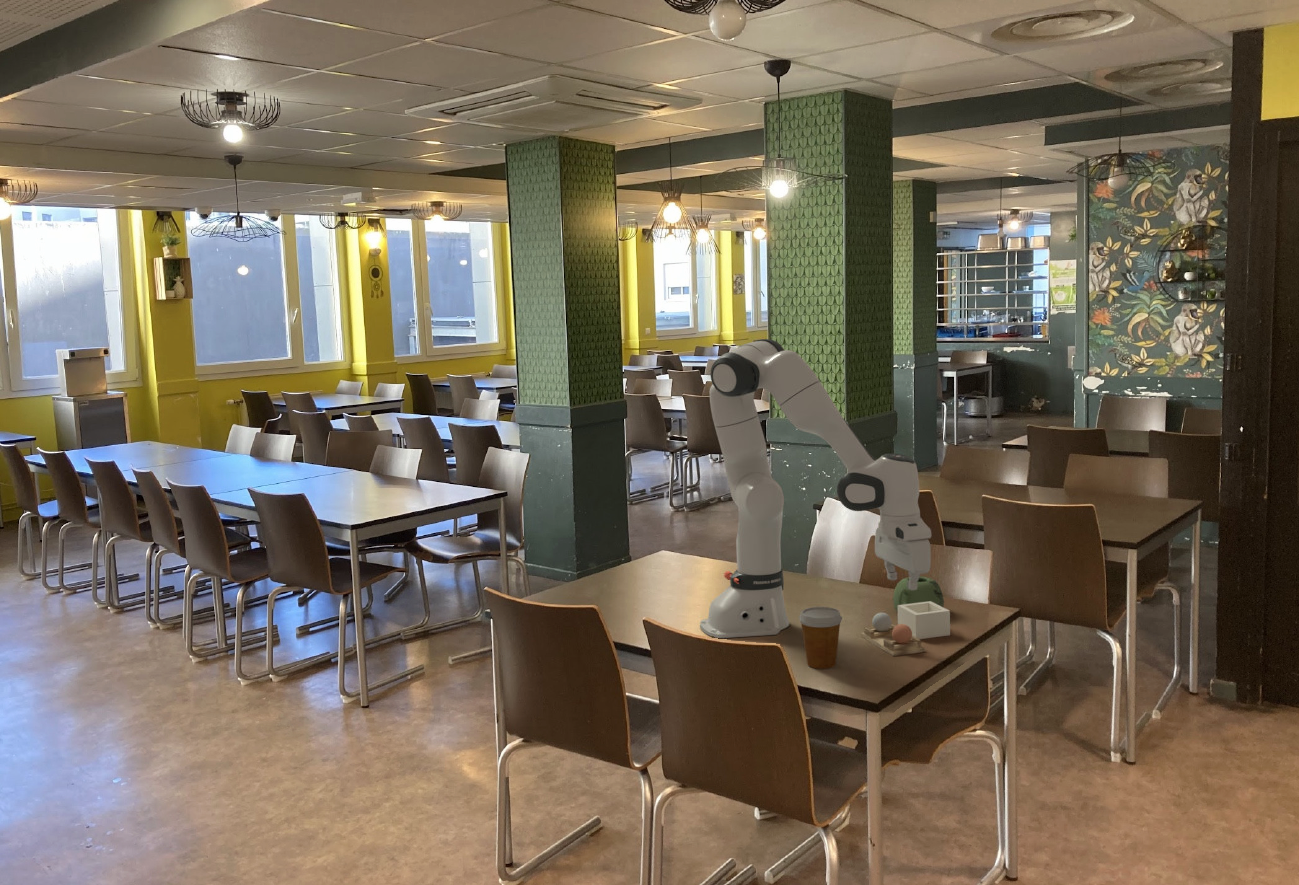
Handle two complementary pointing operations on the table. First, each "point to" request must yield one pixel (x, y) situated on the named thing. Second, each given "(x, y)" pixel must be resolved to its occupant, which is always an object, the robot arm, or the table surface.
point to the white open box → (925, 619)
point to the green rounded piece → (918, 592)
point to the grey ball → (882, 622)
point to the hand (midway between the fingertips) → (902, 584)
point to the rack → (892, 642)
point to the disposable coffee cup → (820, 635)
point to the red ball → (902, 634)
